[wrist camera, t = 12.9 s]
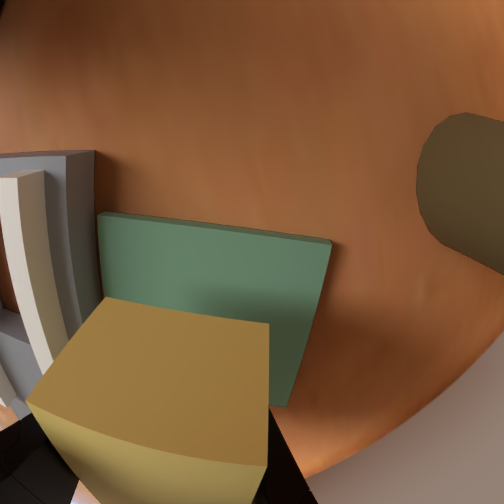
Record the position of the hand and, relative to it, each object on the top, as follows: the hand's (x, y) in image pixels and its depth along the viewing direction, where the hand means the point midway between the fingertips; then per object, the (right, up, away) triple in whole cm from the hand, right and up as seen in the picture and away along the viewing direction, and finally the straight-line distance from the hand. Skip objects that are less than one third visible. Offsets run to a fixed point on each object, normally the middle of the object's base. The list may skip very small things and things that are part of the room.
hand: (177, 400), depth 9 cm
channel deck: (-11, -1, +6) cm, 12 cm away
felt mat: (0, +2, +4) cm, 5 cm away
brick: (0, 0, +1) cm, 1 cm away
